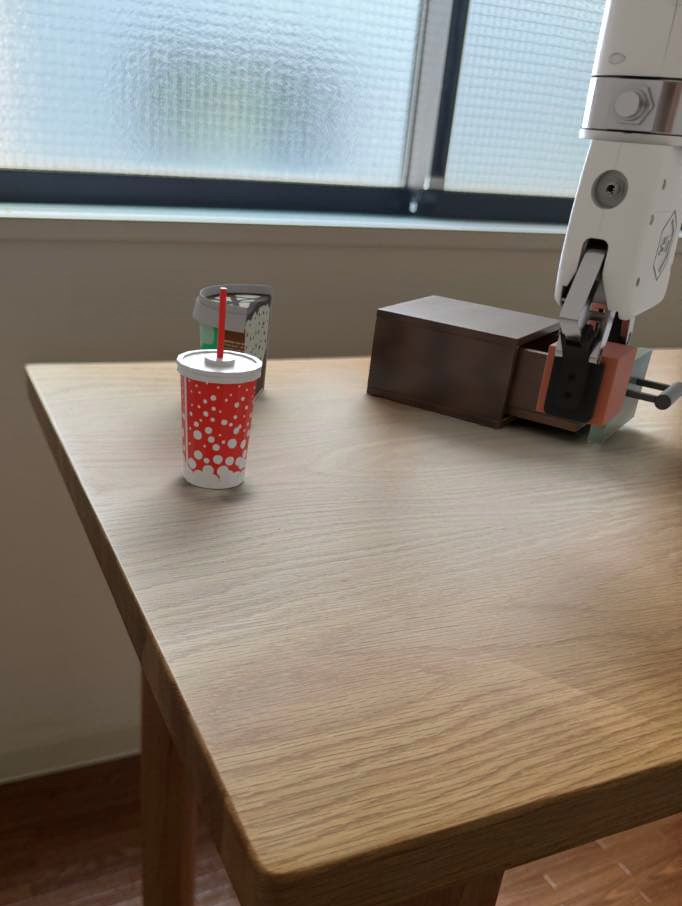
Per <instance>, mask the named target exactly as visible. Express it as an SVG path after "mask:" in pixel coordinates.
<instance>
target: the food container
mask: <svg viewBox="0 0 682 906" xmlns="http://www.w3.org/2000/svg"><path fill="white" fill-rule="evenodd" d="M220 288H227V295H226V314H225V334H224V350H227V351H235V352H240V353H245V354H248V355H251V356H254V357H257V358H258V359H259V360H260V361H262V369H261V376H260V378H258V379H257V382H256V390H255V397H254V402H255V401H256V400H257V399H258V398H259V396H261V394H262V392H263V391H264V390H265V383H266V374H267V363H268V352H269V344H270V343H269V341H270V332H271V331H270V330H271V321H272V310H273V307H274V295H275V293H274V286H272V285H264V284H248V283H245V284H244V283H243V284H242V283H232V284H231V283H229V284H218V285H212V286H210V285H209V286H206V287H204V288H201V290H200V291H199V295H198V296H197V297H196V299H195V303H194V307H193V310H192V311H193V312H192V318H193V319H194V320H196V321H197V322H198V323H199V343H200V345H199V346H200V347H199V348H200V350H214V349H216V350H217V340H218V319H219V298H220Z"/></svg>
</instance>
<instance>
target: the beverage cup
mask: <svg viewBox="0 0 682 906" xmlns="http://www.w3.org/2000/svg"><path fill="white" fill-rule="evenodd" d="M226 295H227V288H220V298H219V319H218V340H217V350H216V349H214V350H201V349H196V350H188V351H185V352H182V353H180V354H178V356H177V358H176V365H177V366H176V367H177V368H176V371H177V372H178V373H179V378H180V405H181V406H180V407H181V408H180V409H181V410H180V411H181V432H182V433H181V437H182V439H181V441H182V467H183V468H182V469H183V478H184V480H185V481H186V482H187V483H189V484H191V485H193V486H196V487H200V488H203V489H210V490H223V489H231V488H235V487H238V486H240V485H241V484H242V483H244V480H245V474H246V473H245V472H246V466H247V465H246V464H247V457H248V451H249V443H250V442H249V441H250V435H251V429H252V427H251V426H252V419H253V412H254V405H255V401H254V397H255V390H256V382H257V379H258V378H260V376H261V369H262V361H260V360H259V359H258V358H257V357H254V356H251V355H248V354H245V353H240V352H235V351H227V350H224V334H225V314H226Z"/></svg>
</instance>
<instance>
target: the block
mask: <svg viewBox="0 0 682 906" xmlns="http://www.w3.org/2000/svg"><path fill="white" fill-rule="evenodd" d="M556 345H557V342H556V343H554V344H552V345H550V346H549V351H548V355H547V360H546V365H545V369H544V374H543V379H542V383H541V388H540V393H539V398H538V402H537V407H536V411H539V412H543V413H545V412H544V409H543V408H544V403H545V398H546V394H547V389H548V384H549V380H550V375H551V371H552V366H553V361H554V357H555V349H556ZM637 349H638V347H637V346H633V345H630V344H629V345H624V344H619V343H614V342H609V341H607V343H606V346H605V349H604V352H603V356H602V359H601V361H600V363H605V364H606V365H605V369H604V373H603V377H602V381H601V385H600V389H599V393H598V397H597V402H596V406H595V410H594V414H593V417H592V419H591V420H590V421H589V422H587V424H586V425H590V426H591V425H595V426H599V427H602V426H603V425H605V424H606V423H607V422H608V421H610V420H611V419H612V418H613V417H615V416H616V415H617V414H618V413H619V412H621V410H622V406H623V402H624V398H625V394H626V391H627V387H628V383H629V379H630V375H631V371H632V368H633V364H634V360H635V356H636V352H637Z"/></svg>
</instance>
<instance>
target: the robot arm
mask: <svg viewBox="0 0 682 906" xmlns="http://www.w3.org/2000/svg"><path fill="white" fill-rule="evenodd" d="M598 35H599V36H598V40H597V45H596V50H595V55H594V61H593V66H592V71H591V78H590V80H589V84H588V89H587V95H586V99H585V103H584V104H585V105H584V108H583V113H582V119H581V124H580V129H579V133H578V137H577V138H578V139H583V140H590V142H589V146H588V149H587V153H586V156H585V159H584V163H583V166H582V169H581V172H580V175H579V181H578V185H577V189H576V192H575V195H574V200H573V204H572V207H571V211H570V215H569V219H568V224H567V228H566V231H565V237H564V241H563V245H562V249H561V254H560V259H559V263H558V269H557V276H556V281H555V288H554V301H555V302H556V304H557V305H558V307H560V308H561V309H560V312H559V316H558V320H559V324H560V329H559V330H561V331H560V332H559V334H560V335H559V338H558V342H557V345H556V349H555V357H554V361H553V366H552V371H551V375H550V380H549V384H548V389H547V394H546V398H545V403H544V408H543V409H544V412H545V413H546V414H549V415H553V416H557V417H561V418H565V419H569V420H573V421H577V422H581V423H587V422H589V421H590V420H591V419H592V417H593V414H594V410H595V406H596V402H597V397H598V393H599V389H600V385H601V381H602V377H603V373H604V369H605V365H606V364H605V363H600V361H601V359H602V356H603V352H604V349H605V346H606V343H607V341H609V342H614V343H619V344H624V345H629V346H630V343H631V339H632V336H633V333H634V326H635V321H636V317H638V316H639V315H640V314H642V313H644V312H646V311H648V310H650V309H652V308H653V307H656V306H657V305H659V304H660V303H661V302H662V301H663V300H664V298H665V296H666V293H667V289H668V285H669V281H670V277H671V272H672V268H673V263H674V258H675V256H676V255H675V254H676V249H677V245H678V241H679V236H680V233H681V228H682V0H606V1H605V5H604V11H603V15H602V20H601V26H600V30H599V34H598Z"/></svg>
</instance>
